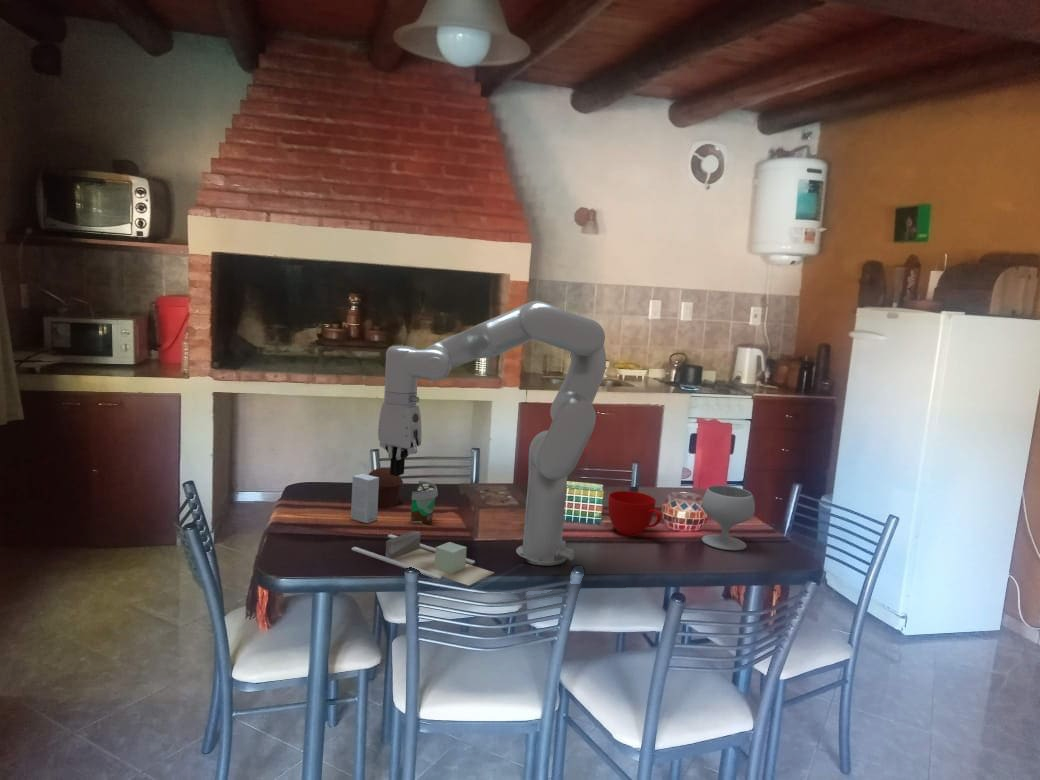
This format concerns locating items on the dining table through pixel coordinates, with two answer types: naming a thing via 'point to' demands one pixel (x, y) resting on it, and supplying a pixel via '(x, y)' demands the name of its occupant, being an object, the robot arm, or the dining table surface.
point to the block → (450, 557)
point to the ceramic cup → (632, 512)
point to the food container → (423, 503)
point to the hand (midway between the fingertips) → (397, 474)
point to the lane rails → (403, 563)
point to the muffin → (387, 487)
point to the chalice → (727, 514)
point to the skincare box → (364, 498)
